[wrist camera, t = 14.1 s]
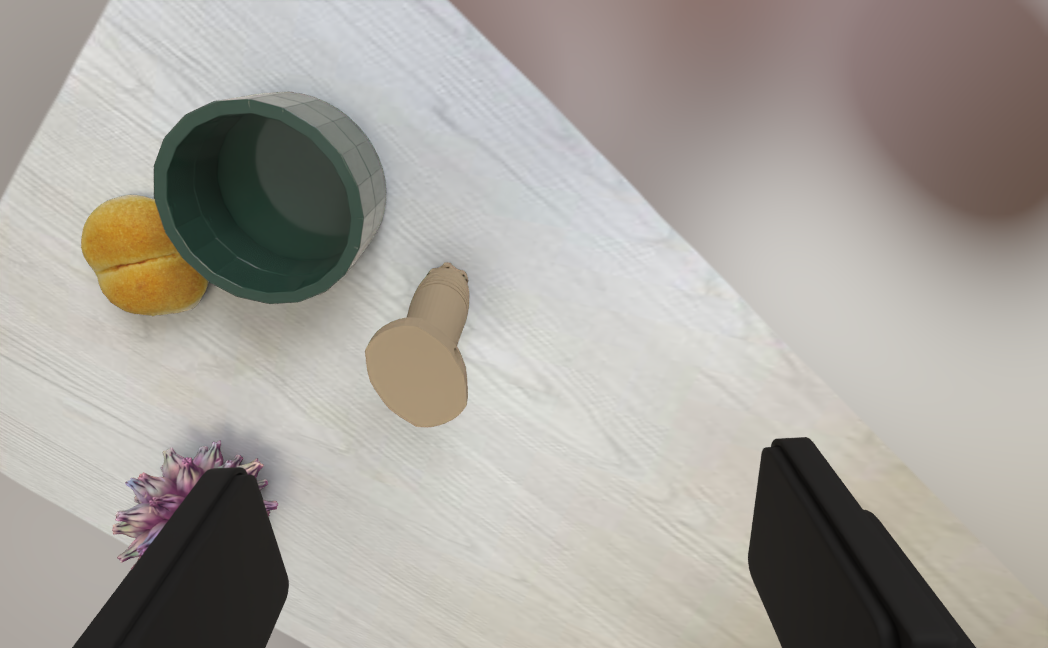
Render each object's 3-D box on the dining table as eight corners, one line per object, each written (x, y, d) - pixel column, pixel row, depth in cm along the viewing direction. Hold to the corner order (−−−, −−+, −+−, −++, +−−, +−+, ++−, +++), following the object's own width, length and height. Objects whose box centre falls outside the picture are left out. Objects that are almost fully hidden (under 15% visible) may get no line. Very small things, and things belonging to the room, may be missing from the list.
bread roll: (182, 184, 42) (150, 196, 39) (227, 297, 46) (202, 318, 42) (74, 201, 43) (33, 215, 39) (127, 312, 47) (94, 334, 43)
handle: (456, 231, 44) (426, 312, 30) (495, 302, 46) (483, 407, 33) (400, 258, 45) (346, 348, 31) (441, 326, 47) (408, 438, 34)
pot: (186, 98, 40) (122, 107, 34) (370, 85, 40) (341, 92, 33) (236, 272, 45) (189, 309, 39) (398, 262, 45) (378, 297, 39)
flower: (218, 514, 57) (120, 441, 51) (320, 476, 55) (230, 394, 48) (167, 635, 48) (38, 565, 41) (286, 596, 46) (169, 515, 39)
